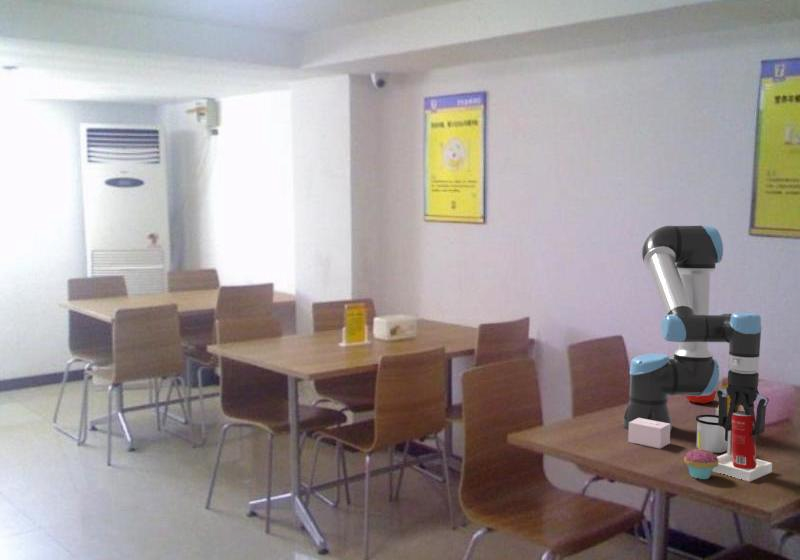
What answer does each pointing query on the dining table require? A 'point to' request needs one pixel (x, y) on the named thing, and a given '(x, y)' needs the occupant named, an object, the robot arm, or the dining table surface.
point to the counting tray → (728, 469)
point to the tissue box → (649, 433)
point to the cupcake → (700, 461)
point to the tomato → (702, 398)
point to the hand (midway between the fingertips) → (739, 455)
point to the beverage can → (743, 441)
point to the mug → (711, 434)
